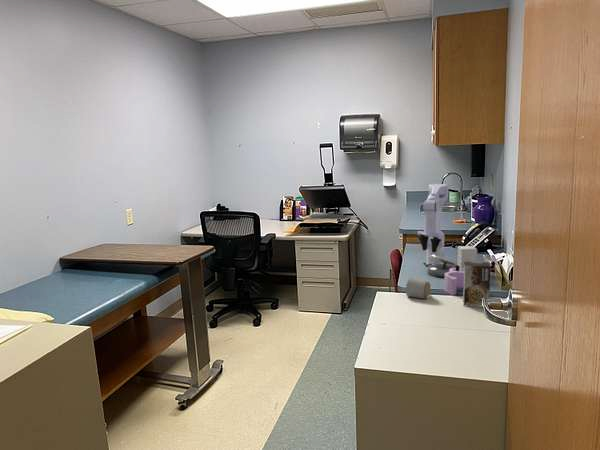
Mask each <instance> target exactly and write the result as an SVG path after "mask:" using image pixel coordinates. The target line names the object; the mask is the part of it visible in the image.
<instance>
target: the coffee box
mask: <svg viewBox="0 0 600 450" xmlns="http://www.w3.org/2000/svg"><path fill="white" fill-rule="evenodd" d="M491 269H492V268H491V264H490V262H486V261H477V262H467V261H464V288H462V291H463V292H462V293H463V295H462V303H464V304H463V306H464V305H468V306H467V307H473V306H482V298H491V297H490V296H491V295H490V294H491V292H490V291H491V271H492V270H491ZM481 308H484V307H483V306H482V307H481Z"/></svg>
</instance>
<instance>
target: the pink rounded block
mask: <svg viewBox="0 0 600 450" xmlns="http://www.w3.org/2000/svg"><path fill="white" fill-rule="evenodd" d="M443 279H444V282H443V283H444V284H443V290H444V291H445V292H446V293H449V295H450V296H455V295H456V294H457V288H461V289H463V288H464V268H462V271H461V272H459V271H456V267H455V268H450V269H449V272H447V273H445V278H443Z"/></svg>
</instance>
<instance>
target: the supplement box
mask: <svg viewBox="0 0 600 450" xmlns="http://www.w3.org/2000/svg"><path fill="white" fill-rule="evenodd" d="M464 261H467V262H478V249H477V248H476V247H475V246H473V245H470V246H469V245H465V246H463V245H462V246H460V245H459V246H457V264H458V265H459V266H460V269H459V272H461V271H462V268H464Z"/></svg>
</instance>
